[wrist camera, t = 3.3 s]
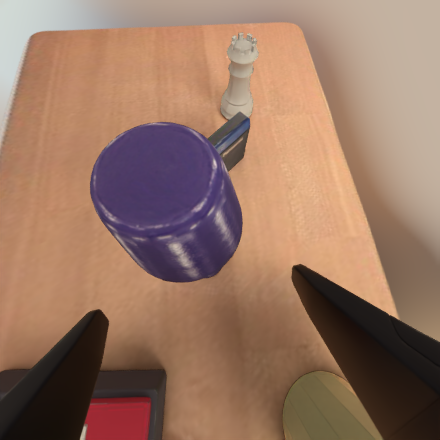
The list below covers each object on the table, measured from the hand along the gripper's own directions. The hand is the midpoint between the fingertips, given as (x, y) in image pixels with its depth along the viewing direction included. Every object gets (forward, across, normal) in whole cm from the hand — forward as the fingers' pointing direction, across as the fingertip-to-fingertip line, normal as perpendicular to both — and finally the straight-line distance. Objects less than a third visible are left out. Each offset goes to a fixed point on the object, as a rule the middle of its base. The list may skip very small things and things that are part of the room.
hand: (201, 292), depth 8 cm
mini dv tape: (+17, -3, -1) cm, 17 cm away
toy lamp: (+10, 0, +6) cm, 12 cm away
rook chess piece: (+23, -8, -7) cm, 25 cm away
